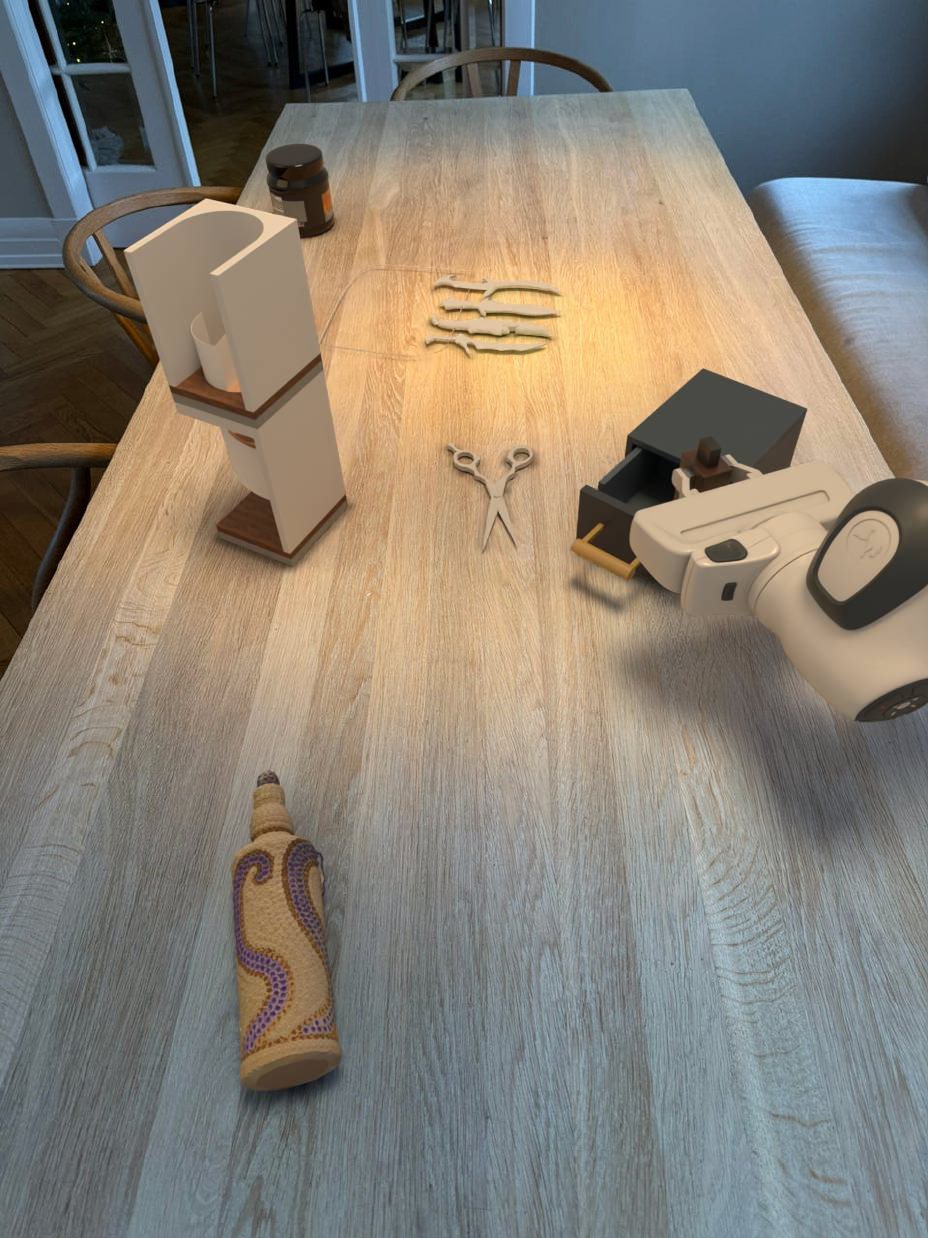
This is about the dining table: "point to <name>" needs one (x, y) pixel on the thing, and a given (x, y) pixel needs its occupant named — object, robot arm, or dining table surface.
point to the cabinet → (723, 423)
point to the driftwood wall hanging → (484, 314)
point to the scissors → (493, 489)
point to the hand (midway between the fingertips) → (699, 467)
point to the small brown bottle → (706, 466)
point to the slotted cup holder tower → (247, 365)
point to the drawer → (621, 511)
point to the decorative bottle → (281, 951)
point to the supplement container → (300, 187)
